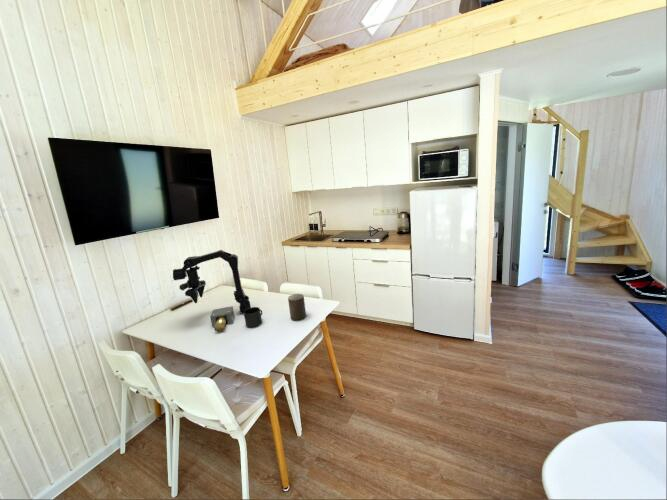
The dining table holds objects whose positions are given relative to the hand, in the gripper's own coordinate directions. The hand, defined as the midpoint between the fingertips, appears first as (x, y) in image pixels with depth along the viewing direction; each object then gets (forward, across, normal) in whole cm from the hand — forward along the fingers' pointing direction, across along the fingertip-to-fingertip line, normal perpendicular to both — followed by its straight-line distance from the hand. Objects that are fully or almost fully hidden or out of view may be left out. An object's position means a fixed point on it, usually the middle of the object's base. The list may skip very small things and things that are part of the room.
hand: (198, 300), depth 173 cm
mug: (+15, +14, +36) cm, 41 cm away
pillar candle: (+15, +14, +62) cm, 65 cm away
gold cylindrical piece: (+14, +14, +16) cm, 25 cm away
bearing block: (+14, +7, +15) cm, 22 cm away
